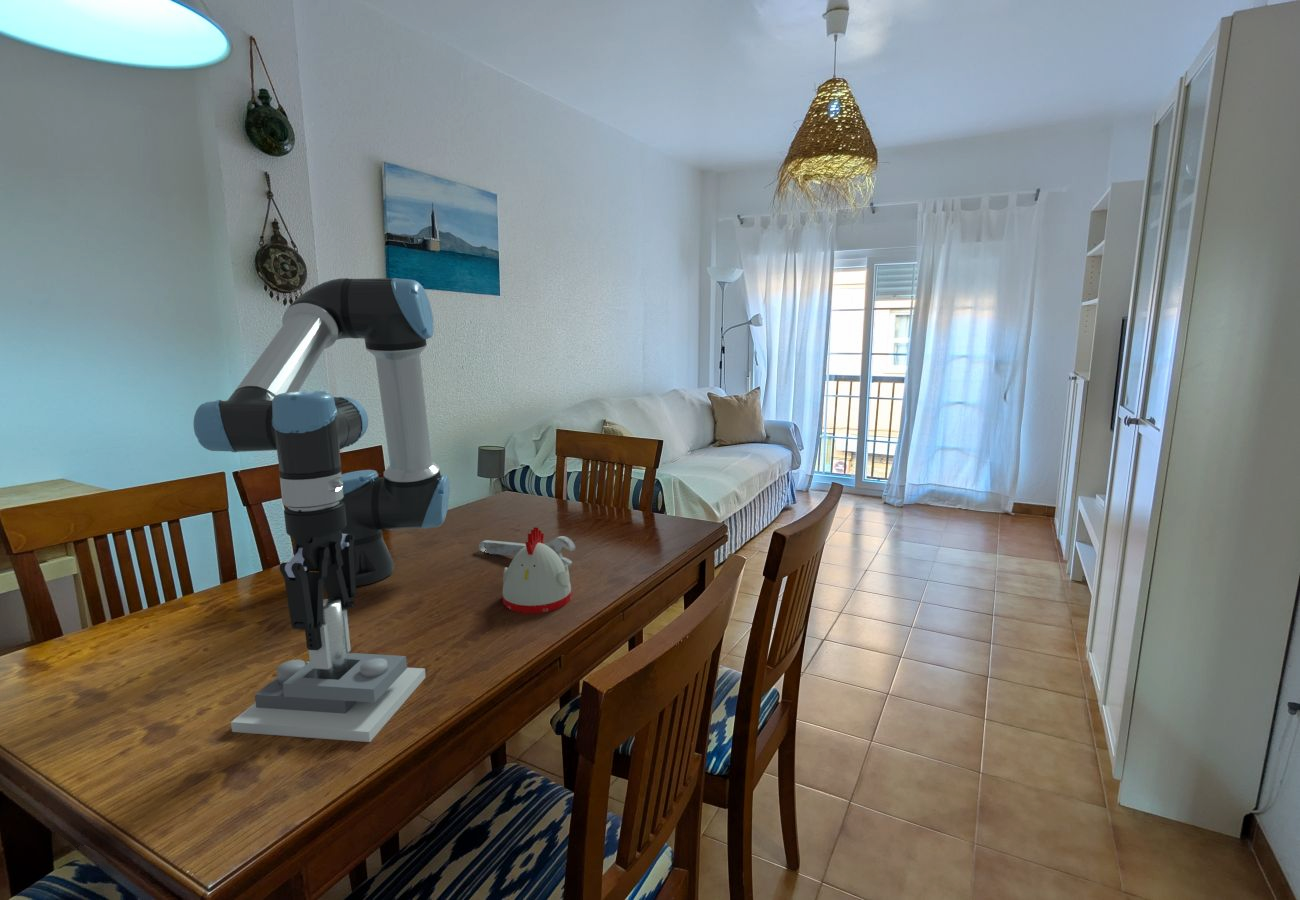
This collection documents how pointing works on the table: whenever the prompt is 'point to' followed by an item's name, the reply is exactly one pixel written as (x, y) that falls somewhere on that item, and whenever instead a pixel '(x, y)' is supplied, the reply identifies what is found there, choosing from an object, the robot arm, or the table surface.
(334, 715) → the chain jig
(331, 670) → the pin
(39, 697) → the table surface
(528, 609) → the kitchen timer
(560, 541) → the wrench
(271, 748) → the table surface
